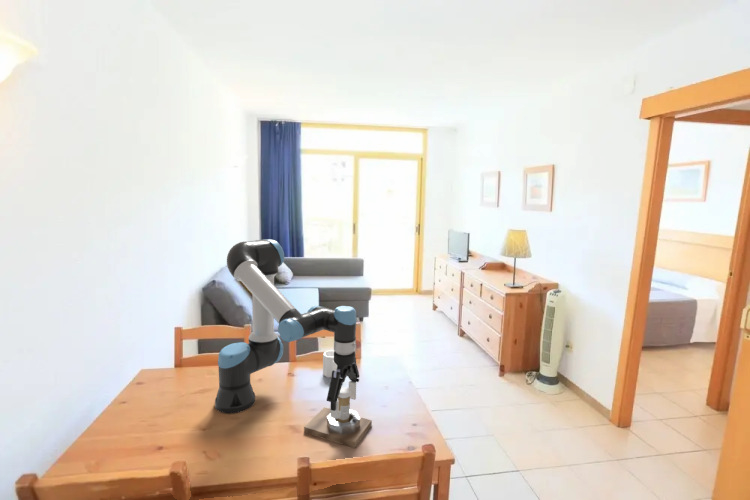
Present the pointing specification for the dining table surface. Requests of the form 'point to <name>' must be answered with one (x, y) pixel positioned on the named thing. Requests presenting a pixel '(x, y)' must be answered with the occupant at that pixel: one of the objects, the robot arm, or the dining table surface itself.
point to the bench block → (321, 430)
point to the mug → (329, 363)
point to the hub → (344, 424)
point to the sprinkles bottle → (344, 405)
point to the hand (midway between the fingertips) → (343, 407)
